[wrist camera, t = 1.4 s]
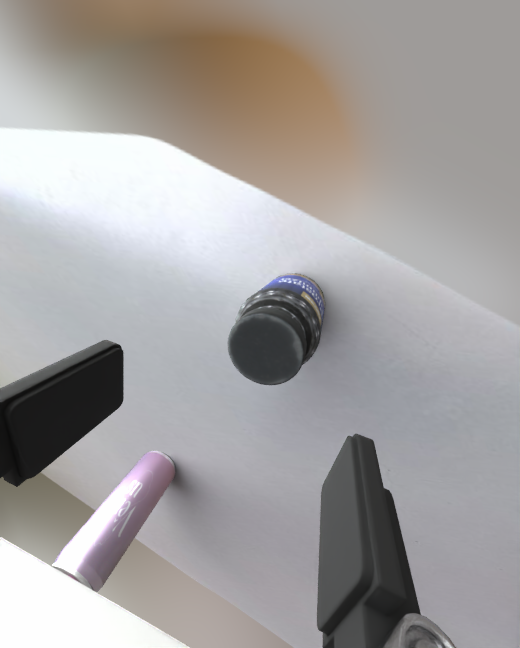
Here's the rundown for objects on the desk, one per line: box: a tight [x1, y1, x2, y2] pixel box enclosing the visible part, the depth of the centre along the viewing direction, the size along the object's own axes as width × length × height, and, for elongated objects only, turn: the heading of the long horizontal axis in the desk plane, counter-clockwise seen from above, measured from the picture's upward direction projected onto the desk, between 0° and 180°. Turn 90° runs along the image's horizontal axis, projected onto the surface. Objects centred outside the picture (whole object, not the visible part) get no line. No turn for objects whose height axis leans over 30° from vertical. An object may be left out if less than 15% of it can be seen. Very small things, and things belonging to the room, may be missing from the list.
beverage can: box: [51, 451, 175, 592], centre depth 32 cm, size 6×6×15 cm
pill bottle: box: [228, 274, 325, 385], centre depth 19 cm, size 6×6×11 cm
